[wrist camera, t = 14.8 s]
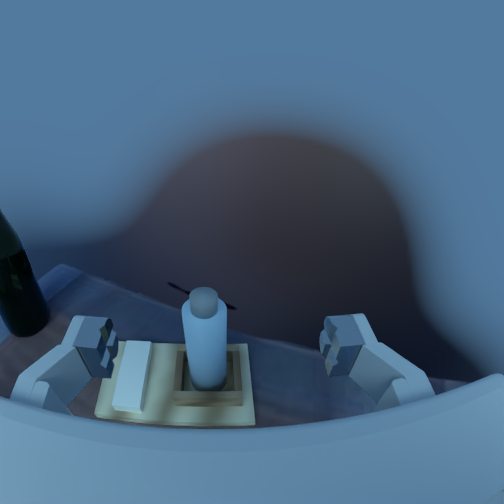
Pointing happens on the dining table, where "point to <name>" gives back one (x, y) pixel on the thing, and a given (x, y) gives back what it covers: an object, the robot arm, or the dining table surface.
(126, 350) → the white rectangular bar
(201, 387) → the tapered blue cylinder
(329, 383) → the dining table surface
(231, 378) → the jig
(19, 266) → the green wine bottle
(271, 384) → the dining table surface
